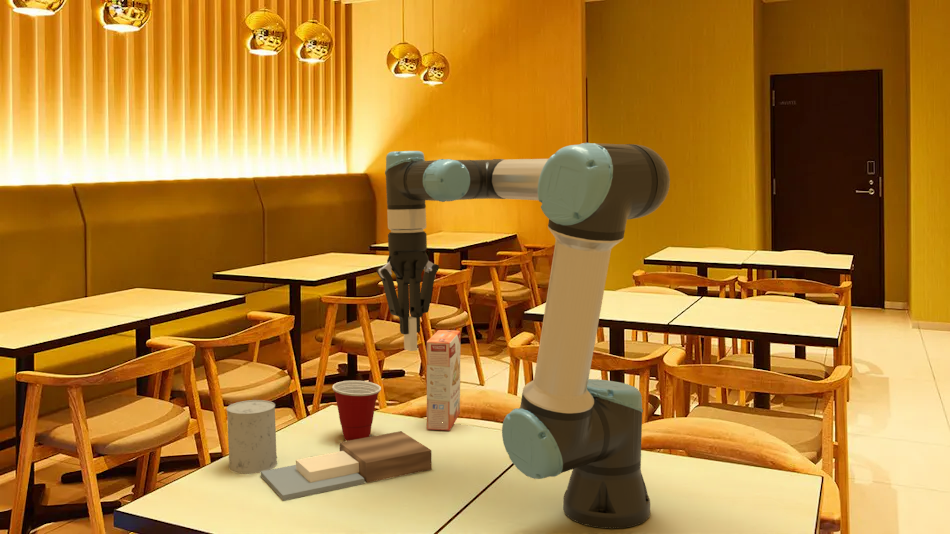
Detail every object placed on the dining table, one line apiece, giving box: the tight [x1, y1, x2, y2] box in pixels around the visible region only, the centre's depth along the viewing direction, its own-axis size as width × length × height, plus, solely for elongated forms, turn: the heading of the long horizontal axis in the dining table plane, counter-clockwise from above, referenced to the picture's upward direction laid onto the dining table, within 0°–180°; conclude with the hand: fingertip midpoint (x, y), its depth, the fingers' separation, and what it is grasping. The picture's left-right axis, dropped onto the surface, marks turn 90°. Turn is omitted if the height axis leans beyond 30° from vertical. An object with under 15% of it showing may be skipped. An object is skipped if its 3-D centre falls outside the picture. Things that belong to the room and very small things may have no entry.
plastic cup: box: [332, 380, 382, 441], centre depth 190 cm, size 11×11×12 cm
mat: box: [260, 464, 366, 502], centre depth 166 cm, size 14×16×1 cm
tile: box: [295, 450, 359, 483], centre depth 168 cm, size 8×10×2 cm
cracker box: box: [426, 329, 461, 432], centre depth 201 cm, size 14×6×21 cm, turn 171°
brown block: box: [338, 430, 433, 484], centre depth 174 cm, size 14×14×4 cm
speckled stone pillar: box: [226, 399, 278, 475], centre depth 174 cm, size 10×10×12 cm
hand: (410, 349), depth 169 cm, fingers closed
